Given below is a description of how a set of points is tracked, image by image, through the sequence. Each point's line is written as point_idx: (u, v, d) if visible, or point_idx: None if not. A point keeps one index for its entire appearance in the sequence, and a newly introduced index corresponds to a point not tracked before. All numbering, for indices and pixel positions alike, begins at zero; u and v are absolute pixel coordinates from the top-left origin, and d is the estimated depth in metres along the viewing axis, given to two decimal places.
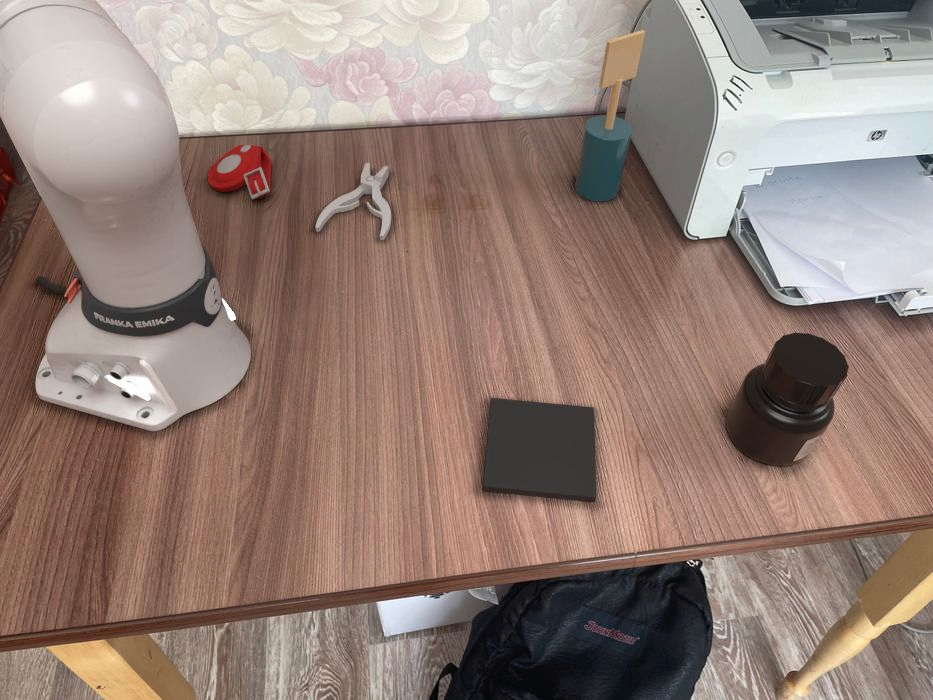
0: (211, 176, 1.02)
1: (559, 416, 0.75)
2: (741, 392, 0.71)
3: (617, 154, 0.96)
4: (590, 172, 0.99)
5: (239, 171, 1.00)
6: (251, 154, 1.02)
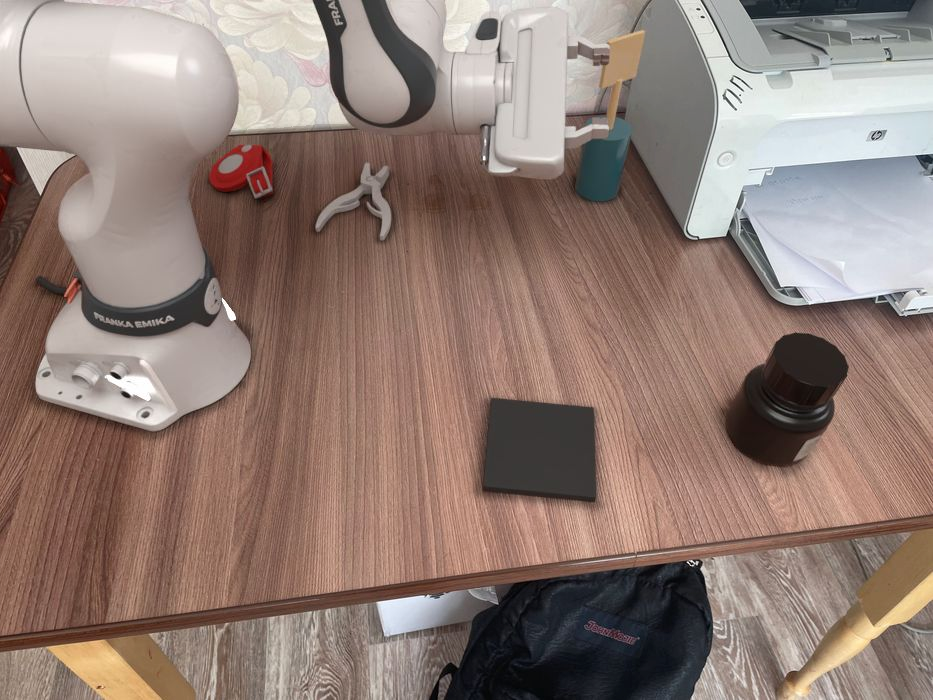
0: (213, 176, 1.02)
1: (559, 416, 0.75)
2: (741, 392, 0.71)
3: (617, 154, 0.96)
4: (590, 172, 0.99)
5: (241, 171, 1.00)
6: (252, 154, 1.02)
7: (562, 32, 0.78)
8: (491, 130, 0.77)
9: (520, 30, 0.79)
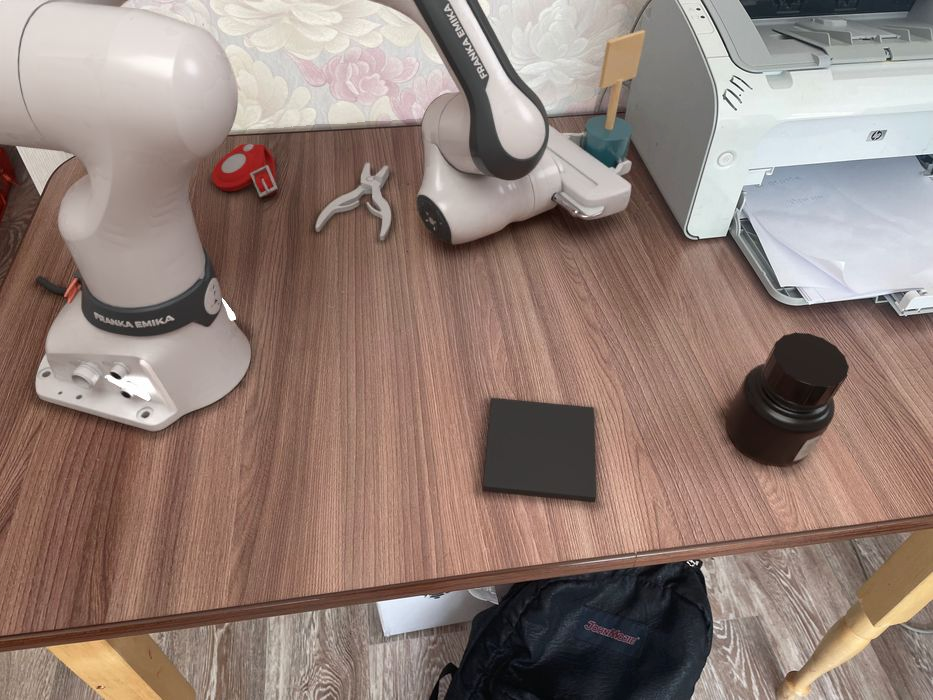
0: (216, 176, 1.02)
1: (559, 416, 0.75)
2: (741, 392, 0.71)
3: (618, 154, 0.96)
4: None
5: (245, 170, 1.00)
6: (255, 153, 1.02)
7: (552, 129, 1.00)
8: (562, 195, 0.92)
9: None
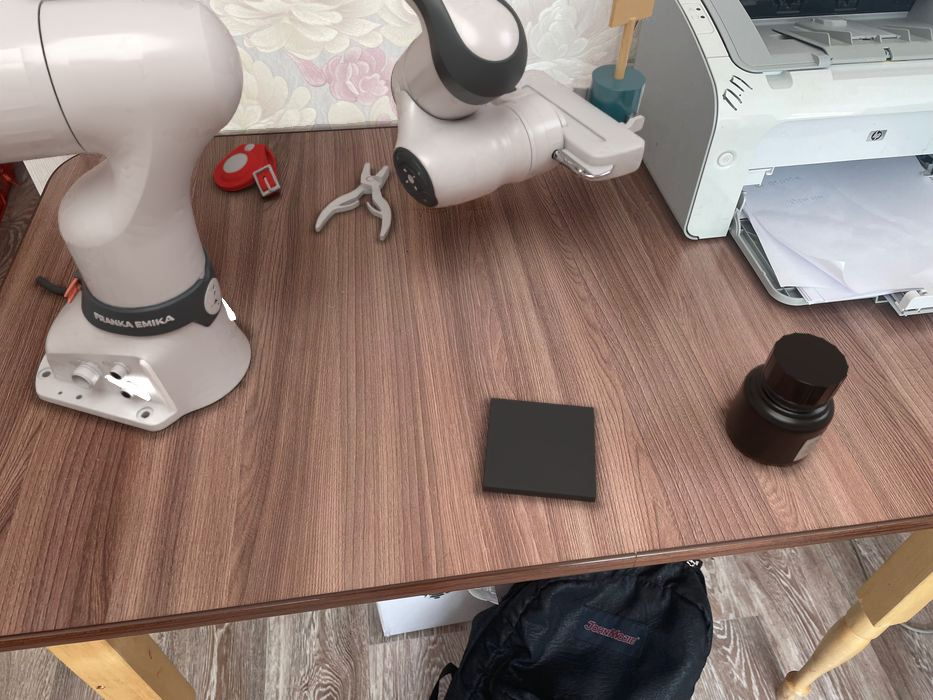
0: (217, 176, 1.02)
1: (559, 416, 0.75)
2: (741, 392, 0.71)
3: (629, 108, 0.84)
4: None
5: (247, 169, 1.00)
6: (256, 152, 1.02)
7: (554, 80, 0.87)
8: (565, 152, 0.79)
9: (520, 89, 0.86)
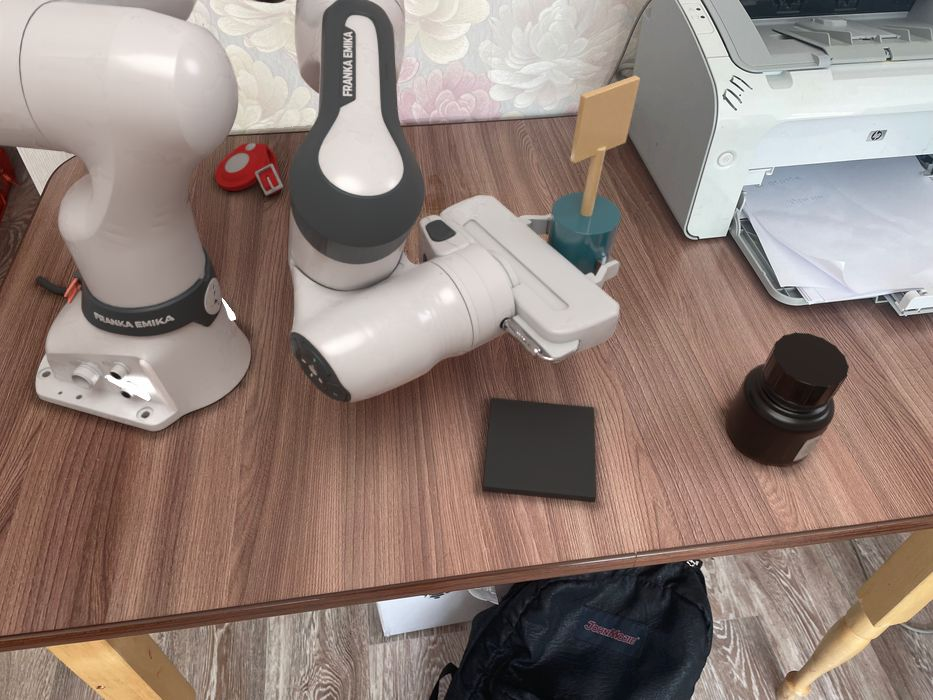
0: (219, 176, 1.02)
1: (559, 416, 0.75)
2: (741, 392, 0.71)
3: (600, 252, 0.66)
4: None
5: (249, 169, 1.00)
6: (258, 152, 1.02)
7: (506, 210, 0.69)
8: (517, 320, 0.61)
9: (463, 225, 0.68)
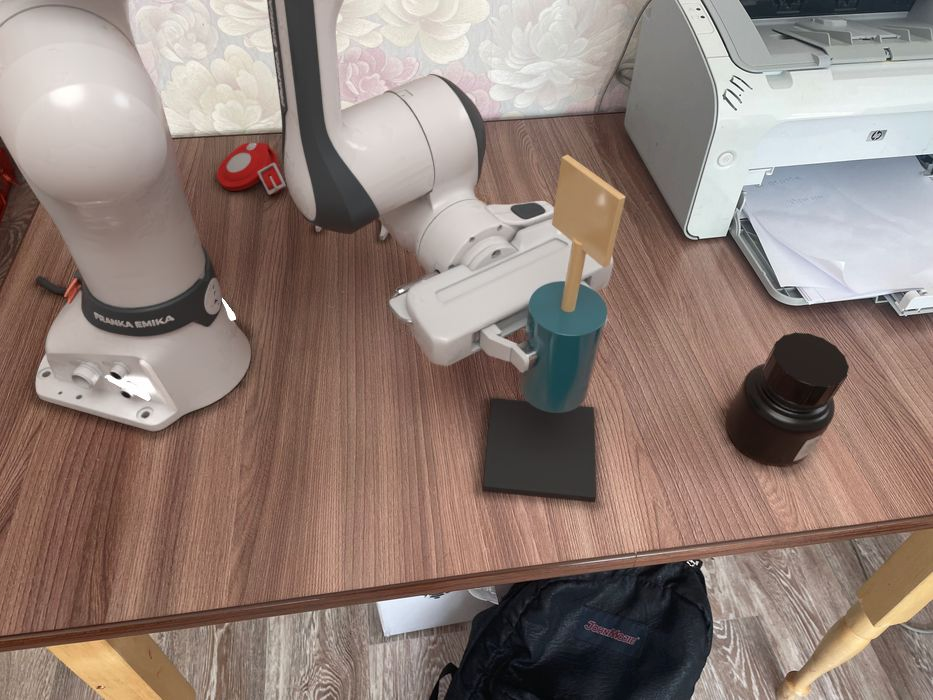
0: (221, 176, 1.02)
1: (559, 416, 0.75)
2: (741, 392, 0.71)
3: (530, 338, 0.58)
4: None
5: (251, 168, 1.00)
6: (259, 151, 1.02)
7: (586, 268, 0.64)
8: None
9: (557, 239, 0.67)
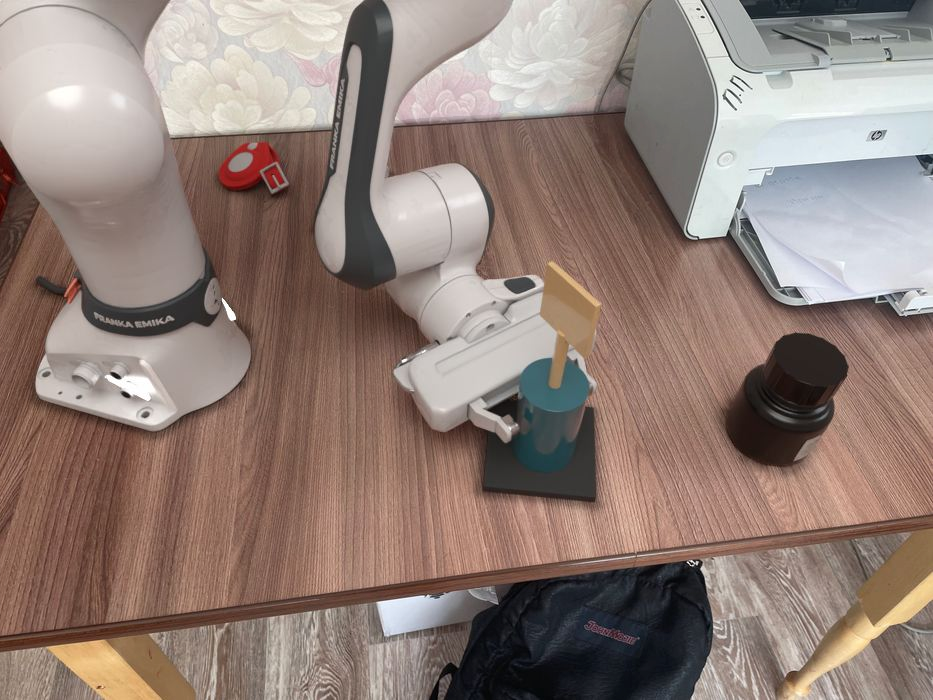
0: (223, 176, 1.02)
1: None
2: (741, 392, 0.71)
3: (521, 410, 0.66)
4: None
5: (253, 168, 1.00)
6: (261, 150, 1.02)
7: None
8: None
9: None
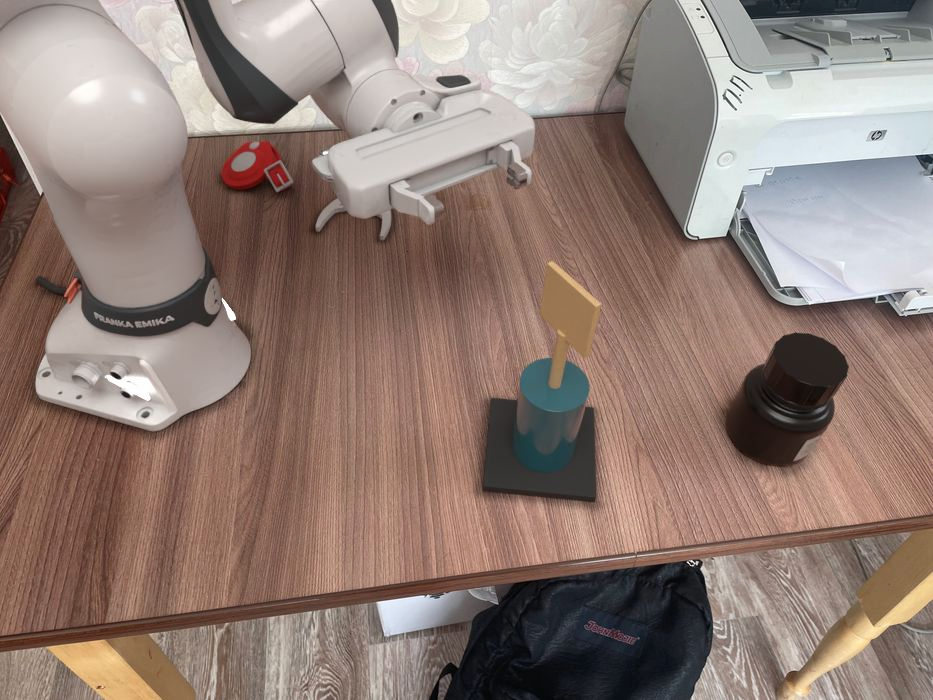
0: (226, 176, 1.02)
1: None
2: (741, 392, 0.71)
3: (521, 410, 0.66)
4: None
5: (257, 167, 1.00)
6: (263, 149, 1.03)
7: (507, 131, 0.66)
8: None
9: (482, 108, 0.69)
